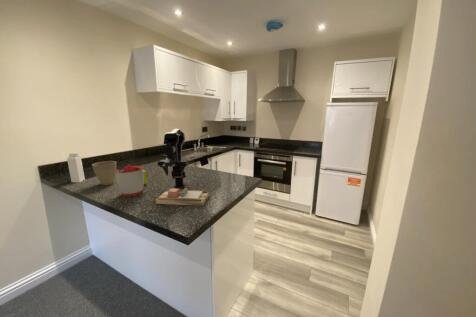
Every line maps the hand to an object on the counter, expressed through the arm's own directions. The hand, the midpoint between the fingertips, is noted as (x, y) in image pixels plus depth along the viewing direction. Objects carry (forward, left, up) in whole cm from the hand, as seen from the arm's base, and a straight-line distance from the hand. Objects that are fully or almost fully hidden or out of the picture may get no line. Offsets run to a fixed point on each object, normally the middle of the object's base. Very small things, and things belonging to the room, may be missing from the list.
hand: (174, 175), depth 126 cm
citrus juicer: (+3, -29, -12) cm, 32 cm away
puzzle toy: (-15, -36, -12) cm, 41 cm away
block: (+9, +3, -12) cm, 15 cm away
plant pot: (-13, -59, -12) cm, 62 cm away
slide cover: (+9, +14, -9) cm, 19 cm away
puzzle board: (+9, +9, -12) cm, 17 cm away
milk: (-16, -86, -12) cm, 88 cm away
